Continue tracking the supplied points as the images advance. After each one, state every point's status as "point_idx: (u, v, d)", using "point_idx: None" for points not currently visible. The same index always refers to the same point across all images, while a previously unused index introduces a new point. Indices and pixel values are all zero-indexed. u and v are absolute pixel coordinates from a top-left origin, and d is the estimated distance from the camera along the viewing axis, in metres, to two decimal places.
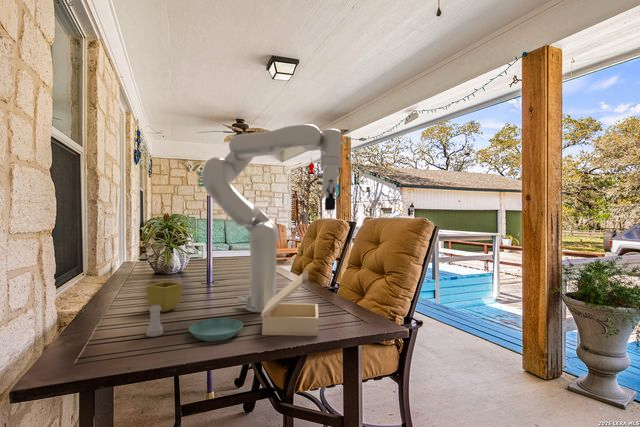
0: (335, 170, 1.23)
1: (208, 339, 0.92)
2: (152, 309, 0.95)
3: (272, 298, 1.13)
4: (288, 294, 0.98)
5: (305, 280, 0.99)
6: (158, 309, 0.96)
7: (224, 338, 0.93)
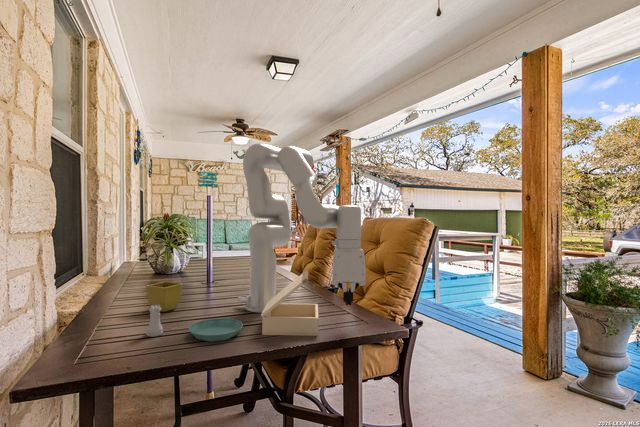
0: None
1: (208, 339, 0.92)
2: (152, 309, 0.95)
3: (272, 298, 1.13)
4: (288, 294, 0.98)
5: (305, 280, 0.99)
6: (158, 309, 0.96)
7: (224, 338, 0.93)
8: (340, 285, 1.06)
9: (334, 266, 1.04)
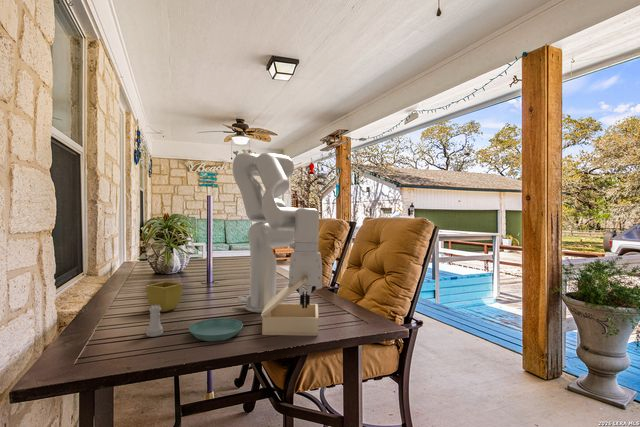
0: None
1: (208, 339, 0.92)
2: (152, 309, 0.95)
3: (272, 298, 1.13)
4: (288, 294, 0.98)
5: (305, 280, 0.99)
6: (158, 309, 0.96)
7: (224, 338, 0.93)
8: None
9: (290, 269, 1.04)
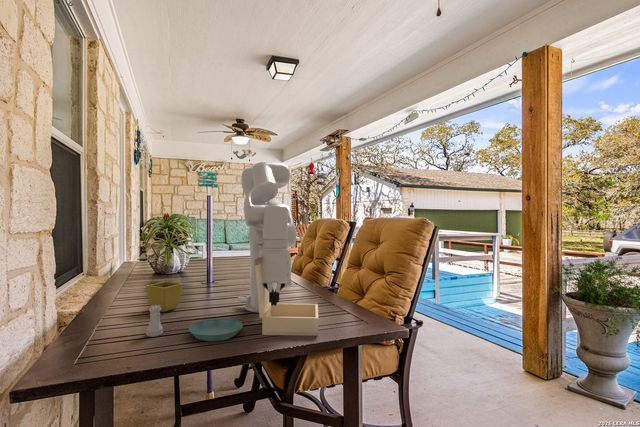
0: None
1: (208, 339, 0.92)
2: (152, 309, 0.95)
3: None
4: (258, 283, 0.98)
5: (256, 261, 0.98)
6: (158, 309, 0.96)
7: (224, 338, 0.93)
8: (265, 285, 1.05)
9: None
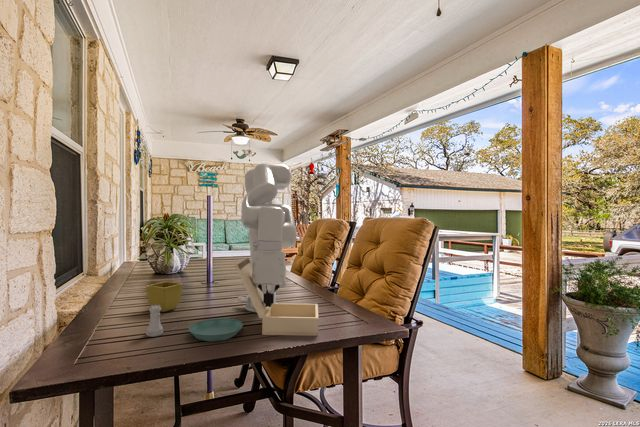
0: None
1: (208, 339, 0.92)
2: (152, 309, 0.95)
3: None
4: (246, 286, 0.98)
5: (236, 267, 0.98)
6: (158, 309, 0.96)
7: (224, 338, 0.93)
8: (260, 287, 1.05)
9: (253, 268, 1.04)
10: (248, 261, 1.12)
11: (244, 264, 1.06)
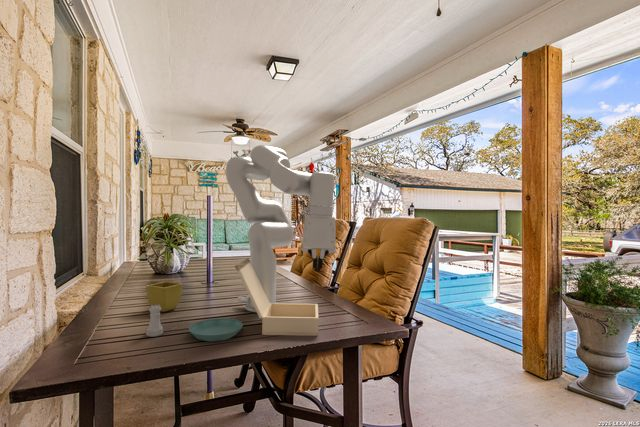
0: None
1: (208, 339, 0.92)
2: (152, 309, 0.95)
3: None
4: (246, 286, 0.98)
5: (236, 267, 0.98)
6: (158, 309, 0.96)
7: (224, 338, 0.93)
8: (310, 251, 1.06)
9: (304, 232, 1.05)
10: (248, 261, 1.12)
11: (244, 264, 1.06)
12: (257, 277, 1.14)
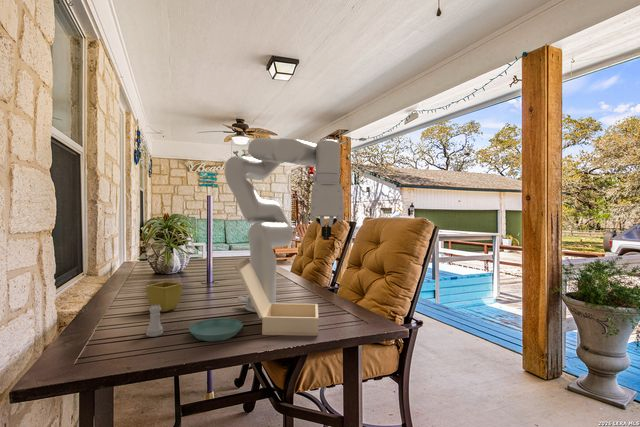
0: None
1: (208, 339, 0.92)
2: (152, 309, 0.95)
3: None
4: (246, 286, 0.98)
5: (236, 267, 0.98)
6: (158, 309, 0.96)
7: (224, 338, 0.93)
8: (318, 220, 1.06)
9: (312, 200, 1.05)
10: (248, 261, 1.12)
11: (244, 264, 1.06)
12: (257, 277, 1.14)
